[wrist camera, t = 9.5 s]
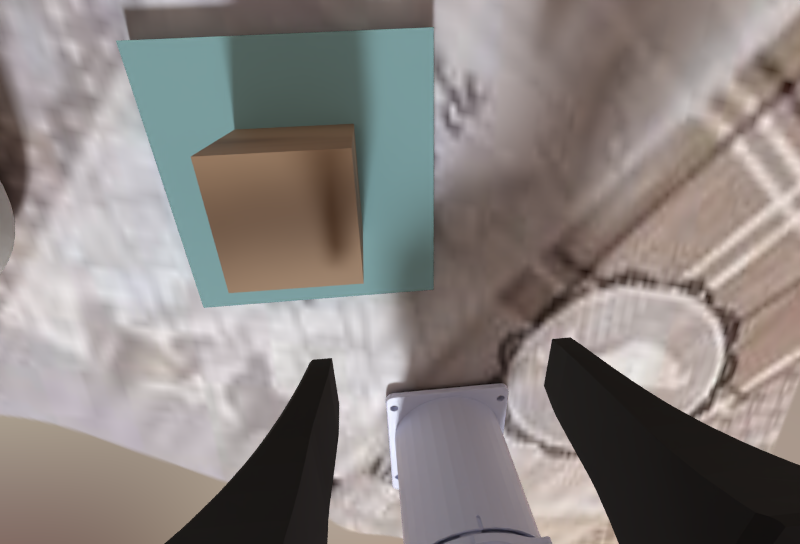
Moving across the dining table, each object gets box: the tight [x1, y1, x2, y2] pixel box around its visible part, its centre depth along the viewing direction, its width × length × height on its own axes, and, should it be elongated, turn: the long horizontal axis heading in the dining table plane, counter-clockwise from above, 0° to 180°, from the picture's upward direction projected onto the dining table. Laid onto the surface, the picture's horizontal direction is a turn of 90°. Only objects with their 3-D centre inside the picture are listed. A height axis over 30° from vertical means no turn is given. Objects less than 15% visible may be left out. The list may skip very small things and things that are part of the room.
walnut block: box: [191, 124, 364, 293], centre depth 16 cm, size 5×5×5 cm
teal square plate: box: [116, 27, 434, 308], centre depth 19 cm, size 12×12×1 cm
